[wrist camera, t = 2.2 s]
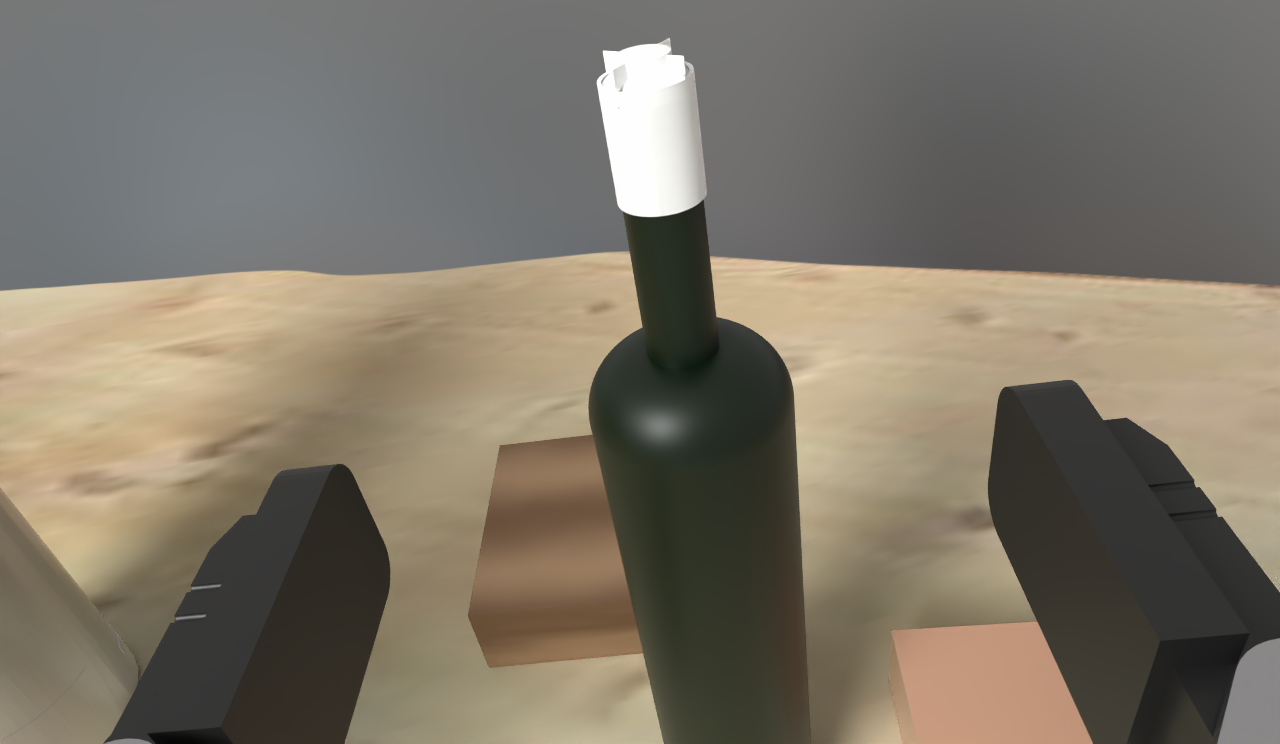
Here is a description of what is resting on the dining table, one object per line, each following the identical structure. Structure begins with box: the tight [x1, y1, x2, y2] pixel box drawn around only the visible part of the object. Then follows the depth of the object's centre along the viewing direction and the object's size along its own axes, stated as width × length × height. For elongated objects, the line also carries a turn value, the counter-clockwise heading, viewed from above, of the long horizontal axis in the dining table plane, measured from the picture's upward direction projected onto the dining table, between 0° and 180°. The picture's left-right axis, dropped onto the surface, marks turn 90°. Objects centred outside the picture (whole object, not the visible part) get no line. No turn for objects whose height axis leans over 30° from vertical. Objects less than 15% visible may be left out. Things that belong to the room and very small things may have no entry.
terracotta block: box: [889, 621, 1093, 744], centre depth 34 cm, size 8×8×4 cm
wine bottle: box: [589, 38, 811, 744], centre depth 27 cm, size 6×6×30 cm
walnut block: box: [468, 435, 643, 667], centre depth 46 cm, size 12×12×4 cm
